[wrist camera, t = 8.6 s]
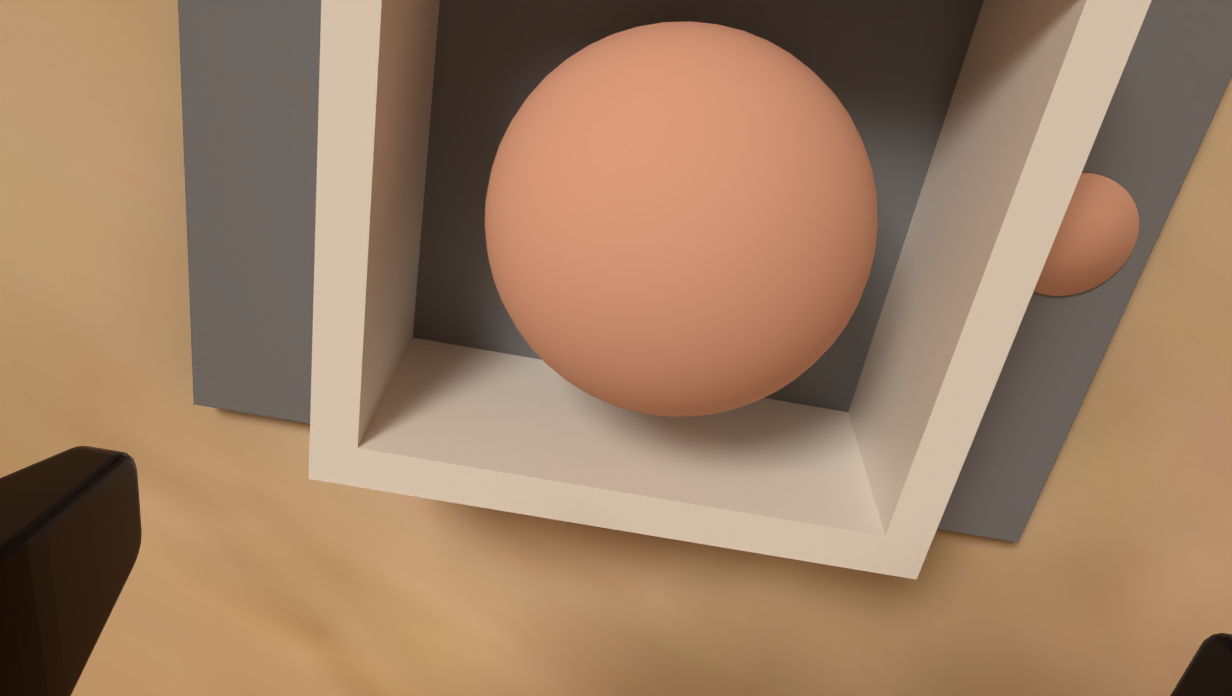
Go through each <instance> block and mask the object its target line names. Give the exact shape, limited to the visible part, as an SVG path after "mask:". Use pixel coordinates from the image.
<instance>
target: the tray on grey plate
mask: <svg viewBox="0 0 1232 696" xmlns="http://www.w3.org/2000/svg"><path fill="white" fill-rule="evenodd" d="M178 12H179V38H180V63H181V89H182V114H183V140H184V166H185V191H186V217H187V242H188V268H189V294H190V319H191V345H192V370H193V396H194V404H195V405H201V406H207V407H213V408H219V409H225V410H231V411H237V412H243V413H249V414H255V415H261V416H267V417H273V418H279V419H285V420H291V421H297V422H303V423H309V424H310V447H309V479H313V480H319V481H325V482H331V483H337V484H343V485H349V486H355V487H361V488H367V489H374V490H380V491H386V492H392V493H398V494H404V495H410V496H416V497H422V498H428V499H434V500H440V501H446V502H452V503H458V504H464V505H470V506H476V507H482V508H488V509H494V510H500V511H506V512H512V513H518V514H524V515H530V516H536V517H542V518H548V519H554V520H560V521H566V522H572V523H578V524H584V525H590V526H596V527H602V528H608V529H615V530H621V531H627V532H633V533H639V534H645V535H651V536H657V537H663V538H669V539H675V540H681V541H687V542H693V543H699V544H705V545H711V546H717V547H723V548H729V549H735V550H741V551H747V552H753V553H759V554H765V555H771V556H777V557H783V558H789V559H795V560H801V561H807V562H813V563H819V564H825V565H831V566H837V567H843V568H849V569H855V570H862V571H868V572H874V573H880V574H886V575H892V576H898V577H904V578H910V579H916V580H917V577H918V575H919V572H920V570H921V567H922V565H923V562H924V560H925V557H926V555H927V552H928V550H929V548H930V545H931V543H932V540H933V538H934V535H935V533H936V530H937V529H940V530H946V531H952V532H958V533H964V534H970V535H976V536H982V537H988V538H994V539H999V540H1005V541H1011V542H1017V543H1018V542H1019V540H1020V538H1021V535H1022V533H1023V531H1024V529H1025V527H1026V524H1027V522H1028V520H1029V518H1030V516H1031V514H1032V511H1033V509H1034V507H1035V505H1036V503H1037V500H1038V498H1039V496H1040V494H1041V492H1042V490H1043V487H1044V485H1045V483H1046V481H1047V479H1048V476H1049V474H1050V472H1051V470H1052V468H1053V466H1054V463H1055V461H1056V459H1057V457H1058V455H1059V452H1060V450H1061V448H1062V446H1063V444H1064V442H1065V439H1066V437H1067V435H1068V433H1069V431H1070V428H1071V426H1072V424H1073V422H1074V420H1075V418H1076V415H1077V413H1078V411H1079V409H1080V407H1081V404H1082V402H1083V400H1084V398H1085V396H1086V394H1087V391H1088V389H1089V387H1090V385H1091V383H1092V381H1093V378H1094V376H1095V374H1096V372H1097V370H1098V367H1099V365H1100V363H1101V361H1102V359H1103V357H1104V354H1105V352H1106V350H1107V348H1108V346H1109V343H1110V341H1111V339H1112V337H1113V335H1114V333H1115V330H1116V328H1117V326H1118V324H1119V322H1120V319H1121V317H1122V315H1123V313H1124V311H1125V309H1126V306H1127V304H1128V302H1129V300H1130V298H1131V295H1132V293H1133V291H1134V289H1135V287H1136V285H1137V282H1138V280H1139V278H1140V276H1141V274H1142V271H1143V269H1144V267H1145V265H1146V263H1147V261H1148V258H1149V256H1150V254H1151V252H1152V250H1153V247H1154V245H1155V243H1156V241H1157V239H1158V237H1159V234H1160V232H1161V230H1162V228H1163V226H1164V224H1165V221H1166V219H1167V217H1168V215H1169V213H1170V210H1171V208H1172V206H1173V204H1174V202H1175V200H1176V197H1177V195H1178V193H1179V191H1180V189H1181V186H1182V184H1183V182H1184V180H1185V178H1186V176H1187V173H1188V171H1189V169H1190V167H1191V165H1192V162H1193V160H1194V158H1195V156H1196V154H1197V152H1198V149H1199V147H1200V145H1201V143H1202V141H1203V138H1204V136H1205V134H1206V132H1207V130H1208V128H1209V125H1210V123H1211V121H1212V119H1213V117H1214V114H1215V112H1216V110H1217V108H1218V106H1219V104H1220V101H1221V99H1222V97H1223V95H1224V93H1225V90H1226V88H1227V86H1228V84H1229V82H1230V80H1231V77H1232V0H178ZM689 21H692V22H701V23H710V24H719V25H723V26H727V27H731V28H735V29H739V30H743V31H746V32H748V33H751V34H753V35H755V36H758V37H760V38H763V39H765V40H768V41H770V42H771V43H773V44H775V45H777V46H778V47H780V48H782V49H784V50H785V51H787V52H789V53H790V54H792V55H793V56H794V57H796V58H797V59H798V60H800V61H801V62H802V63H803V64H805V65H806V66H807V67H808V68H810V69H811V70H812V71H813V72H814V73H815V74H816V75H817V76H818V77H819V78H820V79H821V80H822V81H823V82H824V83H825V84H826V85H827V86H828V87H829V88H830V89H831V90H832V91H833V92H834V94H835V95H836V96H837V98H838V99H839V101H840V102H841V103H842V105H843V106H844V108H845V109H846V110H847V112H848V113H849V115H850V117H851V119H852V121H853V123H854V125H855V127H856V129H857V131H858V132H859V134H860V136H861V139H862V141H863V144H864V147H865V150H866V152H867V155H868V158H869V161H870V164H871V167H872V171H873V176H874V182H875V187H876V193H877V215H878V229H877V239H876V249H875V254H874V259H873V263H872V267H871V271H870V275H869V277H868V280H867V283H866V285H865V288H864V290H863V293H862V296H861V298H860V301H859V303H858V306H857V307H856V309H855V311H854V313H853V315H852V316H851V318H850V320H849V322H848V324H847V325H846V327H845V328H844V329H843V331H842V332H841V333H840V335H839V336H838V338H837V339H836V340H835V342H834V343H833V344H832V345H831V346H830V347H829V348H828V350H827V351H826V352H825V353H824V354H823V355H822V356H821V357H820V358H819V359H818V360H817V361H816V362H815V363H814V364H813V365H812V366H811V367H810V368H809V369H807V370H806V371H805V372H804V373H802V374H801V375H800V376H799V377H798V378H796V379H795V380H794V381H792V382H791V383H789V384H787V385H786V386H784V387H783V388H781V389H780V390H778V391H777V392H775V393H772V394H770V395H768V396H766V397H764V398H762V399H760V400H758V401H756V402H753V403H750V404H748V405H745V406H742V407H739V408H736V409H732V410H728V411H724V412H720V413H715V414H708V415H700V416H683V417H669V416H659V415H649V414H644V413H640V412H635V411H631V410H626V409H624V408H621V407H618V406H615V405H612V404H609V403H606V402H604V401H602V400H600V399H598V398H596V397H593V396H591V395H589V394H587V393H586V392H584V391H582V390H581V389H579V388H578V387H576V386H574V385H573V384H571V383H570V382H568V381H567V380H566V379H564V378H563V377H562V376H561V375H559V374H558V373H557V372H556V371H554V370H553V369H552V368H551V367H549V366H548V365H547V364H546V363H545V362H544V361H543V360H542V359H541V358H540V357H539V356H538V355H537V354H536V353H535V352H534V351H533V350H532V348H531V347H530V346H529V345H528V343H527V342H526V341H525V339H524V338H523V337H522V335H521V334H520V332H519V331H518V330H517V328H516V326H515V324H514V323H513V321H512V319H511V317H510V315H509V313H508V312H507V310H506V308H505V306H504V304H503V303H502V300H501V298H500V295H499V293H498V290H497V287H496V285H495V282H494V279H493V275H492V271H491V267H490V263H489V258H488V252H487V244H486V234H485V203H486V196H487V190H488V185H489V179H490V174H491V170H492V166H493V163H494V160H495V157H496V154H497V151H498V148H499V145H500V143H501V141H502V139H503V137H504V135H505V133H506V131H507V128H508V126H509V124H510V122H511V121H512V119H513V118H514V116H515V115H516V113H517V112H518V110H519V109H520V108H521V106H522V105H523V103H524V102H525V100H526V99H527V97H528V96H529V95H530V94H531V93H532V91H533V90H534V89H535V88H536V87H537V86H538V85H539V84H540V83H541V82H542V80H543V79H544V78H545V77H546V76H547V75H548V74H549V73H551V72H552V71H553V70H554V69H555V68H557V67H558V66H559V65H560V64H561V63H563V62H564V61H565V60H566V59H568V58H569V57H571V56H572V55H574V54H575V53H577V52H579V51H580V50H582V49H583V48H585V47H587V46H588V45H590V44H592V43H594V42H597V41H599V40H601V39H603V38H605V37H608V36H610V35H612V34H615V33H618V32H621V31H625V30H628V29H631V28H635V27H638V26H644V25H650V24H656V23H662V22H689Z"/></svg>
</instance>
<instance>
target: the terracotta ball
mask: <svg viewBox="0 0 1232 696" xmlns="http://www.w3.org/2000/svg"><path fill="white" fill-rule="evenodd" d="M877 229H878V215H877V193H876V187H875V182H874V176H873V171H872V167H871V164H870V161H869V158H868V155H867V152H866V150H865V147H864V144H863V141H862V139H861V136H860V134H859V132H858V131H857V129H856V127H855V125H854V123H853V121H852V119H851V117H850V115H849V113H848V112H847V110H846V109H845V108H844V106H843V105H842V103H841V102H840V101H839V99H838V98H837V96H836V95H835V94H834V92H833V91H832V90H831V89H830V88H829V87H828V86H827V85H826V84H825V83H824V82H823V81H822V80H821V79H820V78H819V77H818V76H817V75H816V74H815V73H814V72H813V71H812V70H811V69H810V68H808V67H807V66H806V65H805V64H803V63H802V62H801V61H800V60H798V59H797V58H796V57H794V56H793V55H792V54H790V53H789V52H787V51H785V50H784V49H782V48H780V47H778V46H777V45H775V44H773V43H771V42H770V41H768V40H765V39H763V38H760V37H758V36H755V35H753V34H751V33H748V32H746V31H743V30H739V29H735V28H731V27H727V26H723V25H719V24H710V23H701V22H692V21H689V22H662V23H656V24H650V25H644V26H638V27H635V28H631V29H628V30H625V31H621V32H618V33H615V34H612V35H610V36H608V37H605V38H603V39H601V40H599V41H597V42H594V43H592V44H590V45H588V46H587V47H585V48H583V49H582V50H580V51H579V52H577V53H575V54H574V55H572V56H571V57H569V58H568V59H566V60H565V61H564V62H563V63H561V64H560V65H559V66H558V67H557V68H555V69H554V70H553V71H552V72H551V73H549V74H548V75H547V76H546V77H545V78H544V79H543V80H542V82H541V83H540V84H539V85H538V86H537V87H536V88H535V89H534V90H533V91H532V93H531V94H530V95H529V96H528V97H527V99H526V100H525V102H524V103H523V105H522V106H521V108H520V109H519V110H518V112H517V113H516V115H515V116H514V118H513V119H512V121H511V122H510V124H509V126H508V128H507V131H506V133H505V135H504V137H503V139H502V141H501V143H500V145H499V148H498V151H497V154H496V157H495V160H494V163H493V166H492V170H491V174H490V179H489V185H488V190H487V196H486V203H485V234H486V244H487V252H488V258H489V263H490V267H491V271H492V275H493V279H494V282H495V285H496V287H497V290H498V293H499V295H500V298H501V300H502V303H503V304H504V306H505V308H506V310H507V312H508V313H509V315H510V317H511V319H512V321H513V323H514V324H515V326H516V328H517V330H518V331H519V332H520V334H521V335H522V337H523V338H524V339H525V341H526V342H527V343H528V345H529V346H530V347H531V348H532V350H533V351H534V352H535V353H536V354H537V355H538V356H539V357H540V358H541V359H542V360H543V361H544V362H545V363H546V364H547V365H548V366H549V367H551V368H552V369H553V370H554V371H556V372H557V373H558V374H559V375H561V376H562V377H563V378H564V379H566V380H567V381H568V382H570V383H571V384H573V385H574V386H576V387H578V388H579V389H581V390H582V391H584V392H586V393H587V394H589V395H591V396H593V397H596V398H598V399H600V400H602V401H604V402H606V403H609V404H612V405H615V406H618V407H621V408H624V409H626V410H631V411H635V412H640V413H644V414H649V415H659V416H669V417H683V416H700V415H708V414H715V413H720V412H724V411H728V410H732V409H736V408H739V407H742V406H745V405H748V404H750V403H753V402H756V401H758V400H760V399H762V398H764V397H766V396H768V395H770V394H772V393H775V392H777V391H778V390H780V389H781V388H783V387H784V386H786V385H787V384H789V383H791V382H792V381H794V380H795V379H796V378H798V377H799V376H800V375H801V374H802V373H804V372H805V371H806V370H807V369H809V368H810V367H811V366H812V365H813V364H814V363H815V362H816V361H817V360H818V359H819V358H820V357H821V356H822V355H823V354H824V353H825V352H826V351H827V350H828V348H829V347H830V346H831V345H832V344H833V343H834V342H835V340H836V339H837V338H838V336H839V335H840V333H841V332H842V331H843V329H844V328H845V327H846V325H847V324H848V322H849V320H850V318H851V316H852V315H853V313H854V311H855V309H856V307H857V306H858V303H859V301H860V298H861V296H862V293H863V290H864V288H865V285H866V283H867V280H868V277H869V275H870V271H871V267H872V263H873V259H874V254H875V249H876V239H877Z"/></svg>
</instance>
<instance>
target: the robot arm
mask: <svg viewBox="0 0 1232 696" xmlns="http://www.w3.org/2000/svg"><path fill="white" fill-rule="evenodd" d="M140 544H141V517H140V503H139V490H138V476H137V468H136V464H135V462H134V460H133V458H132V457H131V456H130V455H128V454H127V453H124V452H120V451H114V450H108V449H102V448H96V447H90V446H78V447H74V448H71V449H69V450H66V451H64V452H62V453H59V454H57V455H54V456H52V457H50V458H47V459H45V460H43V461H40V462H38V463H35V464H33V465H31V466H28V467H26V468H23V469H21V470H19V471H16V472H14V473H12V474H9V475H7V476H4V477H2V478H0V696H71V694H72V692H73V690H74V688H75V686H76V684H77V682H78V680H79V678H80V676H81V674H82V671H83V669H84V667H85V665H86V663H87V661H88V659H89V657H90V655H91V653H92V651H93V649H94V647H95V645H96V643H97V640H98V638H99V636H100V634H101V632H102V630H103V628H104V626H105V624H106V622H107V620H108V618H109V616H110V614H111V612H112V609H113V607H114V605H115V603H116V601H117V599H118V597H119V595H120V593H121V591H122V589H123V587H124V585H125V583H126V581H127V578H128V576H129V574H130V572H131V570H132V568H133V566H134V564H135V561H136V559H137V556H138V553H139V549H140ZM1170 696H1232V634H1226V633H1219V634H1213V635H1212V636H1210V637H1209V638H1207V639H1206V640H1204V642H1203V643H1202V644H1201V646H1200V647H1199V649H1198V651H1197V652H1196V654H1195V656H1194V657H1193V659H1192V661H1191V662H1190V664H1189V666H1188V667H1187V669H1186V671H1185V672H1184V674H1183V676H1182V677H1181V679H1180V680H1179V682H1178V684H1177V685H1176V687H1175V689H1174V690H1173V692H1172V694H1171V695H1170Z"/></svg>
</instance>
